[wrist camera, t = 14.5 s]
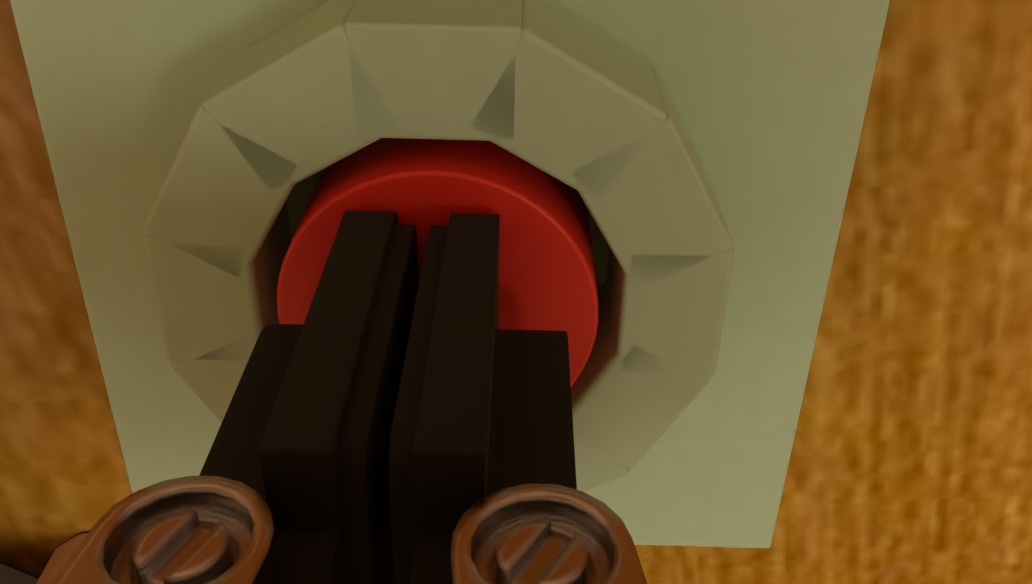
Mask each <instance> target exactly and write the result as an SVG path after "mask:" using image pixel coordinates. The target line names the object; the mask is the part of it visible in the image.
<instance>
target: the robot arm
mask: <svg viewBox="0 0 1032 584" xmlns="http://www.w3.org/2000/svg"><path fill="white" fill-rule="evenodd" d="M499 246H500V214H485V213H450V216H449V222H448V226H445V225H430V229H429V234H428V239H427V245H426V250H425V255H424V260H423V266H422V271H421V276H420V281H419V273H418V246H417V230H416V225H403V224H399V220H398V214H397V212H396V211H360V210H346V211H345V212H344V214H343V217H342V220H341V223H340V225H339V228H338V231H337V234H336V236H335V239H334V242H333V245H332V247H331V250H330V253H329V256H328V258H327V261H326V264H325V267H324V269H323V272H322V275H321V278H320V280H319V283H318V286H317V289H316V292H315V294H314V297H313V300H312V303H311V305H310V308H309V311H308V314H307V316H306V319H305V322H304V324H267V325H265V326H264V327H263V329H262V331H261V332H260V334H259V337H258V339H257V341H256V344H255V346H254V348H253V351H252V353H251V355H250V358H249V360H248V362H247V365H246V367H245V369H244V372H243V374H242V376H241V379H240V381H239V383H238V386H237V388H236V390H235V393H234V395H233V397H232V400H231V402H230V405H229V407H228V409H227V412H226V414H225V416H224V419H223V421H222V423H221V426H220V428H219V430H218V433H217V435H216V437H215V440H214V442H213V444H212V447H211V449H210V451H209V454H208V456H207V458H206V461H205V463H204V465H203V468H202V470H201V473H200V475H199V476H192V475H191V476H186V477H180V478H175V479H170V480H164V481H161V482H159V483H156V484H153V485H151V486H148V487H146V488H143V489H141V490H138V491H136V492H134V493H133V494H131V495H129V496H128V497H126V498H125V499H123V500H122V501H120V502H118V503H117V504H115V505H114V506H112V507H111V508H110V509H109V510H108V511H107V512H106V513H105V514H104V515H103V516H102V517H101V518H100V519H99V520H98V522H97V523H96V524H95V525H94V526H93V527H92V528H91V530H90V531H89V532H88V534H87V535H86V536H85V538H84V539H83V540H82V542H81V543H80V545H79V546H78V547H77V549H76V550H75V551H74V553H73V554H72V555H71V557H70V558H69V559H68V561H67V562H66V563H65V565H64V566H63V568H62V569H61V570H60V572H59V573H58V574H57V576H56V577H55V578H54V580H53V581H52V582H51V584H647V582H646V579H645V576H644V573H643V570H642V567H641V564H640V561H639V557H638V554H637V551H636V548H635V545H634V542H633V539H632V537H631V535H630V533H629V531H628V530H627V528H626V526H625V524H624V522H623V520H622V519H621V518H620V517H619V516H618V515H617V514H616V513H615V512H614V511H613V510H612V509H610V508H609V507H608V506H607V505H606V504H605V503H604V502H602V501H600V500H598V499H596V498H594V497H592V496H590V495H589V494H587V493H585V492H583V491H580V490H577V483H576V466H575V449H574V432H573V415H572V398H571V381H570V364H569V347H568V334H567V331H557V330H515V329H498V321H499Z"/></svg>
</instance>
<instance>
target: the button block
mask: <svg viewBox="0 0 1032 584" xmlns="http://www.w3.org/2000/svg"><path fill="white" fill-rule="evenodd" d="M889 3H890V0H10V4H11V8H12V12H13V16H14V20H15V24H16V28H17V32H18V36H19V40H20V44H21V48H22V52H23V56H24V60H25V64H26V68H27V72H28V76H29V80H30V84H31V88H32V92H33V96H34V100H35V104H36V108H37V112H38V116H39V120H40V124H41V128H42V132H43V137H44V141H45V145H46V149H47V153H48V157H49V161H50V165H51V169H52V173H53V177H54V181H55V185H56V189H57V193H58V197H59V201H60V205H61V209H62V213H63V217H64V221H65V225H66V229H67V233H68V237H69V241H70V245H71V249H72V253H73V257H74V261H75V265H76V269H77V273H78V277H79V281H80V285H81V289H82V293H83V297H84V302H85V306H86V310H87V314H88V318H89V322H90V326H91V330H92V334H93V338H94V342H95V346H96V350H97V354H98V358H99V362H100V366H101V370H102V374H103V378H104V382H105V386H106V390H107V394H108V398H109V402H110V406H111V410H112V414H113V418H114V422H115V426H116V430H117V434H118V438H119V442H120V446H121V450H122V454H123V458H124V463H125V467H126V471H127V475H128V479H129V483H130V487H131V491H132V494H133V493H134V492H136V491H138V490H141V489H143V488H146V487H148V486H151V485H153V484H156V483H159V482H161V481H164V480H170V479H175V478H180V477H186V476H191V475H192V476H199V475H200V473H201V470H202V468H203V465H204V463H205V461H206V458H207V456H208V454H209V451H210V449H211V447H212V444H213V442H214V440H215V437H216V435H217V433H218V430H219V428H220V426H221V423H222V421H223V419H224V416H225V414H226V412H227V409H228V407H229V405H230V402H231V400H232V397H233V395H234V393H235V390H236V388H237V386H238V383H239V381H240V379H241V376H242V374H243V372H244V369H245V367H246V365H247V362H248V360H249V358H250V355H251V353H252V351H253V348H254V346H255V344H256V341H257V339H258V337H259V334H260V332H261V331H262V329H263V327H264V326H265V325H267V324H280V322H279V317H278V310H277V288H278V279H279V274H280V270H281V267H282V263H283V260H284V257H285V255H286V253H287V251H288V248H289V246H290V244H291V242H292V239H293V237H294V235H295V232H296V230H297V228H298V226H299V223H300V221H301V219H302V217H303V214H304V212H305V210H306V208H307V205H308V203H309V201H310V199H311V196H312V194H313V192H314V190H315V187H316V185H317V183H318V181H319V179H320V177H321V175H322V174H323V172H324V171H325V169H326V168H327V167H328V166H330V165H332V164H334V163H336V162H337V161H339V160H341V159H343V158H345V157H347V156H349V155H351V154H352V153H354V152H356V151H358V150H360V149H362V148H364V147H366V146H368V145H369V144H371V143H373V142H375V141H377V140H379V139H381V138H403V139H442V140H482V141H491V142H493V143H494V144H496V145H498V146H500V147H501V148H503V149H505V150H507V151H509V152H510V153H512V154H514V155H516V156H517V157H519V158H521V159H523V160H524V161H526V162H528V163H530V164H531V165H533V166H535V167H537V168H539V169H540V170H542V171H544V172H546V173H547V174H549V175H551V176H553V177H554V178H556V179H558V180H560V181H561V182H563V183H565V184H567V185H569V186H570V187H572V188H574V189H576V190H577V191H578V192H579V194H580V196H581V197H582V199H583V201H584V204H585V208H586V211H587V214H588V218H589V224H590V231H591V239H592V248H593V258H594V267H595V277H596V286H597V295H598V326H597V333H596V339H595V342H594V345H593V348H592V351H591V354H590V357H589V359H588V361H587V363H586V365H585V367H584V369H583V371H582V372H581V374H580V375H579V377H578V378H577V379H576V381H575V382H574V384H573V385H572V386H571V398H572V415H573V432H574V449H575V466H576V483H577V490H580V491H583V492H585V493H587V494H589V495H590V496H592V497H594V498H596V499H598V500H600V501H602V502H604V503H605V504H606V505H607V506H608V507H609V508H610V509H612V510H613V511H614V512H615V513H616V514H617V515H618V516H619V517H620V518H621V519H622V520H623V522H624V524H625V526H626V528H627V530H628V531H629V533H630V535H631V537H632V539H633V542H634V545H660V546H699V547H737V548H770V546H771V542H772V537H773V533H774V528H775V523H776V519H777V514H778V510H779V505H780V501H781V496H782V491H783V487H784V482H785V478H786V473H787V469H788V464H789V459H790V455H791V450H792V446H793V441H794V437H795V432H796V427H797V423H798V418H799V414H800V409H801V405H802V400H803V395H804V391H805V386H806V382H807V377H808V373H809V368H810V364H811V359H812V354H813V350H814V345H815V341H816V336H817V332H818V327H819V322H820V318H821V313H822V309H823V304H824V300H825V295H826V290H827V286H828V281H829V277H830V272H831V268H832V263H833V258H834V254H835V249H836V245H837V240H838V236H839V231H840V226H841V222H842V217H843V213H844V208H845V204H846V199H847V194H848V190H849V185H850V181H851V176H852V172H853V167H854V162H855V158H856V153H857V149H858V144H859V140H860V135H861V131H862V126H863V121H864V117H865V112H866V108H867V103H868V99H869V94H870V89H871V85H872V80H873V76H874V71H875V67H876V62H877V57H878V53H879V48H880V44H881V39H882V35H883V30H884V25H885V21H886V16H887V12H888V7H889Z"/></svg>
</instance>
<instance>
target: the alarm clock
mask: <svg viewBox="0 0 1032 584" xmlns="http://www.w3.org/2000/svg"><path fill="white" fill-rule="evenodd" d="M87 534H88V533H84V534H79V535H78V536H76V537H74V538H73V539H71V540H69V541H67V542H66V543H64V544H62V545H60V546H59V547H57V548H56V549H55V551H54V553H53V555H52V556H51V558H50V560H49V562H48V563H47V565H46V567H45V569H44V570H43V572H42V574H41V576H40V578H39V579H37V578H35V577H32V576H30V575H27V574H25V573H22V572H20V571H17V570H15V569H12V568H10V567H7V566H5V565H3V564H0V584H51V582H52V581H53V580H54V578H55V577H56V576H57V574H58V573H59V572H60V570H61V569H62V568H63V566H64V565H65V563H66V562H67V561H68V559H69V558H70V557H71V555H72V554H73V553H74V551H75V550H76V549H77V547H78V546H79V545H80V543H81V542H82V540H83V539H84V538H85V536H86V535H87Z"/></svg>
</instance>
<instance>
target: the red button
mask: <svg viewBox="0 0 1032 584" xmlns="http://www.w3.org/2000/svg"><path fill="white" fill-rule="evenodd" d="M346 210H360V211H396V212H397V214H398V220H399V224H403V225H416V230H417V246H418V273H419V281H420V276H421V271H422V266H423V260H424V255H425V250H426V245H427V239H428V234H429V229H430V225H445V226H448V222H449V216H450V213H485V214H500V246H499V321H498V329H515V330H557V331H567V334H568V347H569V364H570V381H571V386H572V385H573V384H574V382H575V381H576V379H577V378H578V377H579V375H580V374H581V372H582V371H583V369H584V367H585V365H586V363H587V361H588V359H589V357H590V354H591V351H592V348H593V345H594V342H595V339H596V333H597V326H598V295H597V286H596V277H595V267H594V258H593V248H592V239H591V231H590V224H589V218H588V214H587V211H586V208H585V204H584V201H583V199H582V197H581V196H580V194H579V192H578V191H577V190H576V189H574V188H572V187H570V186H569V185H567V184H565V183H563V182H561V181H560V180H558V179H556V178H554V177H553V176H551V175H549V174H547V173H546V172H544V171H542V170H540V169H539V168H537V167H535V166H533V165H531V164H530V163H528V162H526V161H524V160H523V159H521V158H519V157H517V156H516V155H514V154H512V153H510V152H509V151H507V150H505V149H503V148H501V147H500V146H498V145H496V144H494V143H493V142H491V141H482V140H442V139H403V138H381V139H379V140H377V141H375V142H373V143H371V144H369V145H368V146H366V147H364V148H362V149H360V150H358V151H356V152H354V153H352V154H351V155H349V156H347V157H345V158H343V159H341V160H339V161H337V162H336V163H334V164H332V165H330V166H328V167H327V168H326V169H325V171H324V172H323V174H322V175H321V177H320V179H319V181H318V183H317V185H316V187H315V190H314V192H313V194H312V196H311V199H310V201H309V203H308V205H307V208H306V210H305V212H304V214H303V217H302V219H301V221H300V223H299V226H298V228H297V230H296V232H295V235H294V237H293V239H292V242H291V244H290V246H289V248H288V251H287V253H286V255H285V257H284V260H283V263H282V267H281V270H280V274H279V279H278V288H277V310H278V317H279V322H280V324H304V322H305V319H306V316H307V314H308V311H309V308H310V305H311V303H312V300H313V297H314V294H315V292H316V289H317V286H318V283H319V280H320V278H321V275H322V272H323V269H324V267H325V264H326V261H327V258H328V256H329V253H330V250H331V247H332V245H333V242H334V239H335V236H336V234H337V231H338V228H339V225H340V223H341V220H342V217H343V214H344V212H345V211H346Z"/></svg>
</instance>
